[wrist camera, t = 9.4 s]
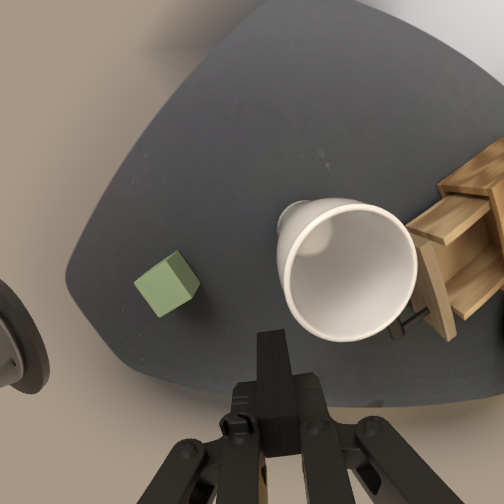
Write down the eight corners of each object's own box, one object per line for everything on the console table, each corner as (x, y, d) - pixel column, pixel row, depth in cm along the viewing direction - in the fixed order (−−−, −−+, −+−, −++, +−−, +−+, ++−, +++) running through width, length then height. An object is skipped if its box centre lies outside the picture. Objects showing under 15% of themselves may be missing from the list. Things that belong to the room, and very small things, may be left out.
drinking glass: (309, 177, 25) (372, 170, 11) (352, 233, 27) (438, 284, 12) (253, 223, 27) (248, 270, 12) (298, 276, 28) (336, 367, 13)
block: (148, 270, 28) (133, 282, 24) (178, 249, 27) (165, 260, 23) (170, 301, 29) (159, 318, 25) (201, 283, 28) (192, 298, 24)
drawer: (382, 332, 28) (409, 369, 21) (344, 255, 26) (372, 280, 19) (490, 248, 26) (529, 264, 18) (467, 171, 24) (511, 173, 17)
